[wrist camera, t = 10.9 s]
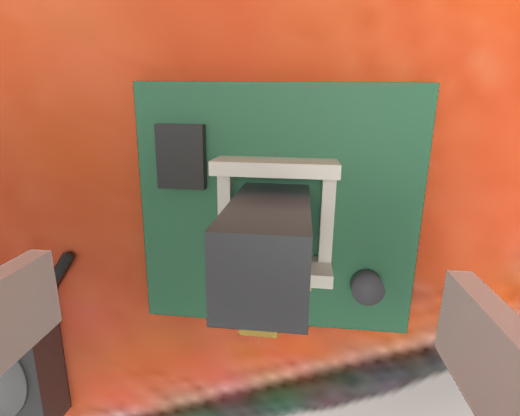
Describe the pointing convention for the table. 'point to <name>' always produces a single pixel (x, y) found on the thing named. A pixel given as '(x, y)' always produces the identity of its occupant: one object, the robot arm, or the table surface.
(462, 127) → the table surface
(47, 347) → the speaker
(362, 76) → the table surface
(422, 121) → the board
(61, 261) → the rod
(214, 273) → the plug
